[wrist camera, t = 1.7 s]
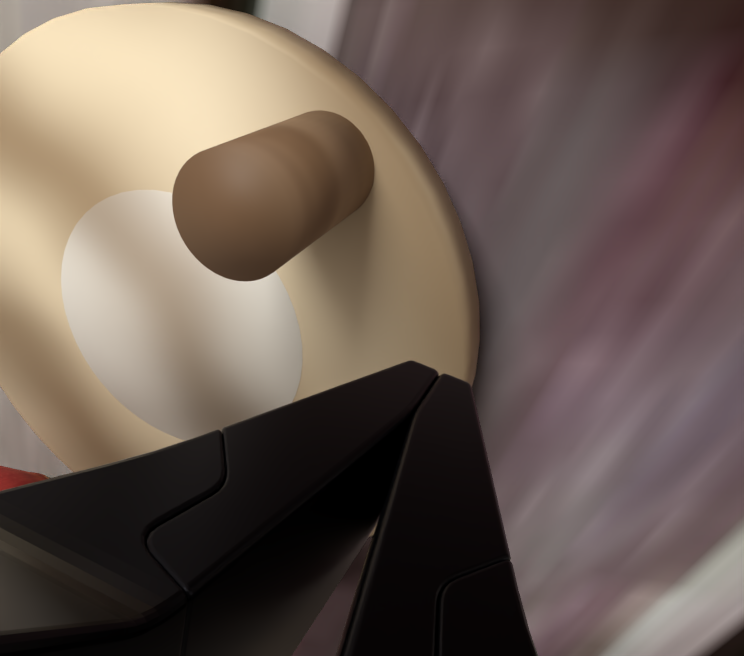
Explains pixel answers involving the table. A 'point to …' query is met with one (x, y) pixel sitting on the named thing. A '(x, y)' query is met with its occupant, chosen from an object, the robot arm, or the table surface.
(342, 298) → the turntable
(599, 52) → the table surface
